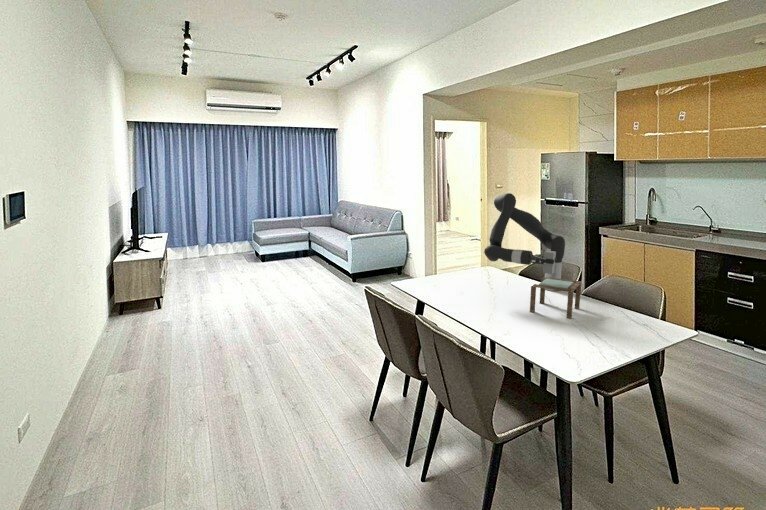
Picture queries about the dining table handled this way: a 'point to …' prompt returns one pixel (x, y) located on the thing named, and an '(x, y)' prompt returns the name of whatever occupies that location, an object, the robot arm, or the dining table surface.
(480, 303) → the dining table surface
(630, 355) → the dining table surface
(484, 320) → the dining table surface
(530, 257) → the robot arm
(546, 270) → the grey rectangular block
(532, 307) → the trapdoor frame
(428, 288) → the dining table surface
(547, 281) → the trapdoor
